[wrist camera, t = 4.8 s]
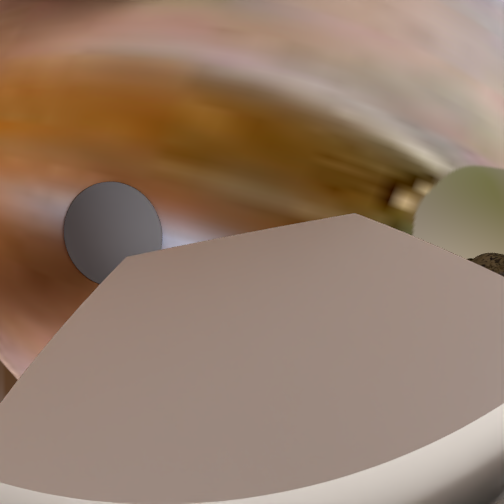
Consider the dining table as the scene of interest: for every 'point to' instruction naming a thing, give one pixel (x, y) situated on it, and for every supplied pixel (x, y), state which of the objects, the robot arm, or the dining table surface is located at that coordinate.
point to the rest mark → (109, 228)
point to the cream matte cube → (270, 377)
